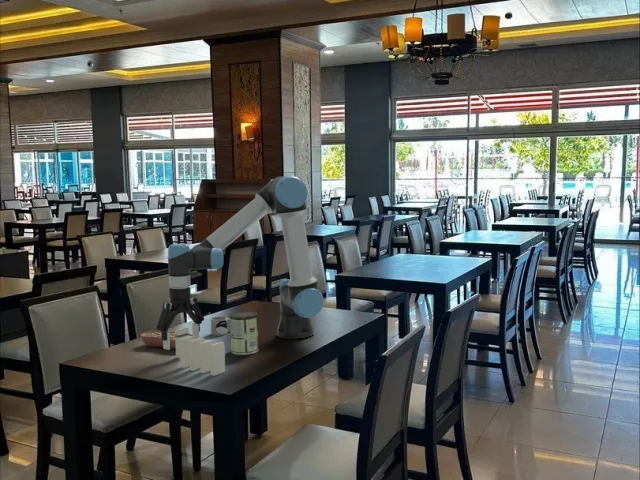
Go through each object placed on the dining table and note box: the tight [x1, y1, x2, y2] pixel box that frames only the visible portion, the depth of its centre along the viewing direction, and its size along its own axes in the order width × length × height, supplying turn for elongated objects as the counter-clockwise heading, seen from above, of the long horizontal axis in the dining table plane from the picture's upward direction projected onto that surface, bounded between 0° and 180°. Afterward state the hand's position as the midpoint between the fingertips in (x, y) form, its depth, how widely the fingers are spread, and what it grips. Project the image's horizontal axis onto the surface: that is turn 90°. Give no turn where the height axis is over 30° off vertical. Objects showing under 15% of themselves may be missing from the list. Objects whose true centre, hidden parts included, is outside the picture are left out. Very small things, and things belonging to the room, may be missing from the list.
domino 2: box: [179, 336, 194, 369], centre depth 217 cm, size 2×5×10 cm, turn 143°
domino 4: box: [199, 339, 215, 374], centre depth 211 cm, size 2×5×10 cm, turn 143°
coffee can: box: [229, 310, 259, 356], centre depth 234 cm, size 10×10×14 cm
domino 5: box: [210, 341, 226, 377], centre depth 208 cm, size 2×5×10 cm, turn 143°
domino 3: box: [189, 337, 204, 372], centre depth 214 cm, size 2×5×10 cm, turn 143°
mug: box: [210, 315, 230, 337], centre depth 263 cm, size 10×7×7 cm, turn 131°
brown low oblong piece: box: [140, 330, 193, 350], centre depth 243 cm, size 23×10×5 cm, turn 64°
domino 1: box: [174, 327, 190, 359], centre depth 229 cm, size 2×5×10 cm, turn 143°
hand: (181, 345), depth 229 cm, fingers open, 13 cm apart
